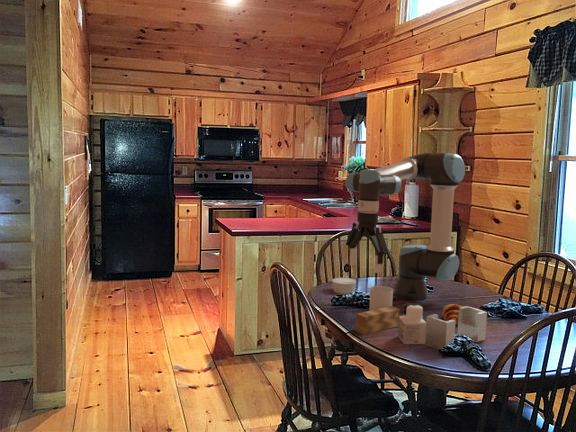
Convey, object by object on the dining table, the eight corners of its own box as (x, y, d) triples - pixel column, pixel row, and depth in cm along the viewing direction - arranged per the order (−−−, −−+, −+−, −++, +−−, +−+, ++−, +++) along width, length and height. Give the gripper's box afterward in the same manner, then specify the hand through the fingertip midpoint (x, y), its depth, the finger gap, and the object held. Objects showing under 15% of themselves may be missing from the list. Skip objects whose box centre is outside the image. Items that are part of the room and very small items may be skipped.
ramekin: (340, 296, 242) (341, 284, 241) (326, 290, 252) (327, 279, 251) (360, 293, 248) (361, 281, 247) (346, 287, 257) (346, 276, 257)
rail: (390, 322, 207) (390, 306, 206) (398, 325, 204) (399, 309, 203) (355, 331, 197) (356, 313, 196) (363, 334, 193) (364, 317, 192)
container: (397, 336, 192) (399, 301, 190) (418, 336, 193) (420, 301, 191) (403, 344, 184) (405, 307, 183) (425, 344, 185) (428, 307, 183)
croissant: (448, 319, 224) (440, 301, 224) (471, 310, 220) (463, 293, 221) (445, 334, 204) (436, 315, 204) (471, 325, 201) (461, 306, 201)
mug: (390, 320, 210) (391, 292, 208) (367, 317, 212) (368, 290, 211) (394, 311, 221) (395, 285, 219) (372, 309, 224) (373, 283, 222)
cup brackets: (464, 332, 197) (466, 305, 196) (485, 339, 191) (487, 312, 189) (425, 344, 185) (426, 316, 183) (445, 352, 178) (446, 322, 176)
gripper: (338, 208, 206) (335, 263, 208) (384, 216, 185) (381, 276, 188) (353, 207, 210) (350, 261, 212) (400, 215, 189) (396, 274, 192)
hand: (365, 268), depth 200 cm, fingers open, 13 cm apart
